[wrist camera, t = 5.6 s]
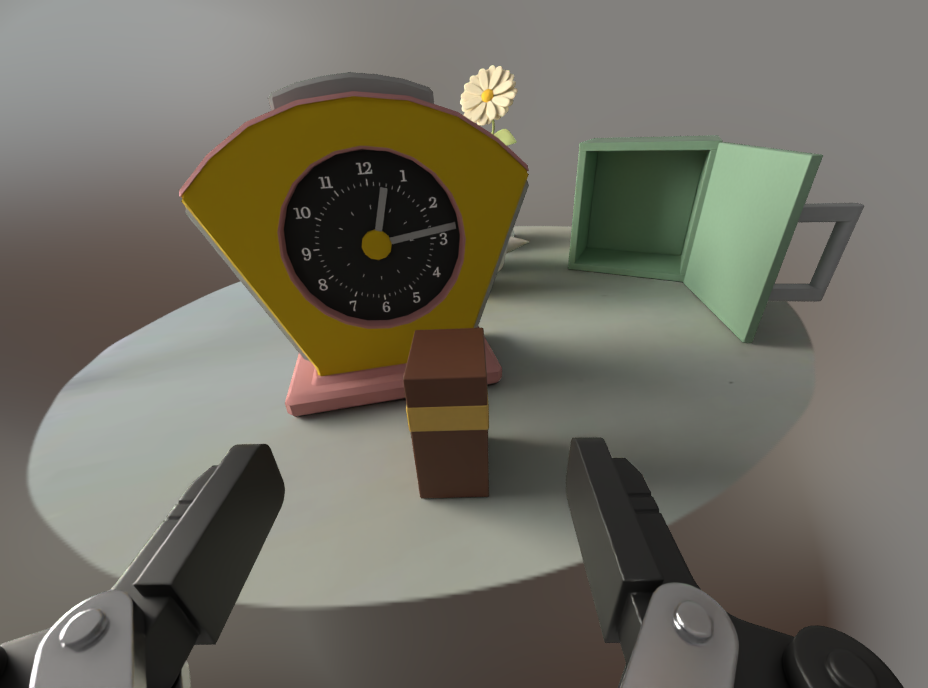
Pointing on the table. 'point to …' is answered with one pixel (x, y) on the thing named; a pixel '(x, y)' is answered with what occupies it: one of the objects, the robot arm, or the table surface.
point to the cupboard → (639, 204)
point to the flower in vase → (490, 99)
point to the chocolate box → (448, 412)
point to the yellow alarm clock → (359, 227)
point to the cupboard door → (759, 233)
